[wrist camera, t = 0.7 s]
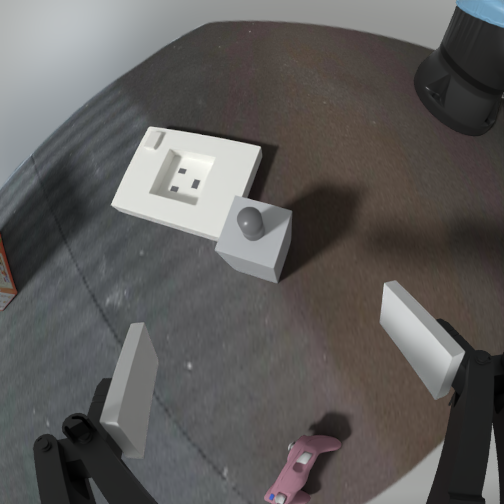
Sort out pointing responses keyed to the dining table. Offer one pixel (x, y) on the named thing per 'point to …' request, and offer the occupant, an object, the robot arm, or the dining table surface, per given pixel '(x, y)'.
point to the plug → (256, 238)
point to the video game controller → (299, 469)
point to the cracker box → (5, 280)
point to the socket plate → (187, 180)
